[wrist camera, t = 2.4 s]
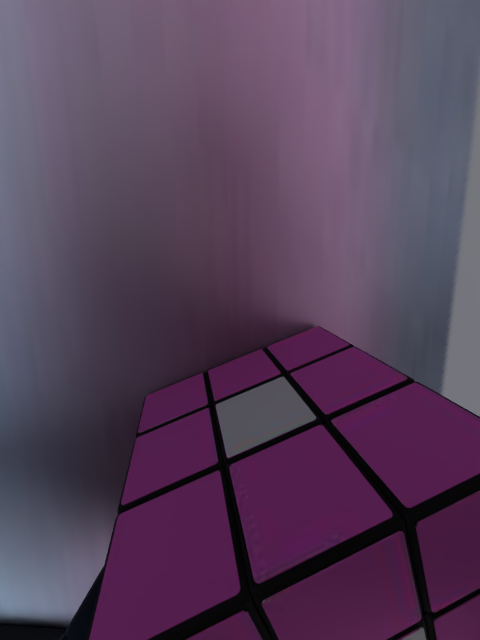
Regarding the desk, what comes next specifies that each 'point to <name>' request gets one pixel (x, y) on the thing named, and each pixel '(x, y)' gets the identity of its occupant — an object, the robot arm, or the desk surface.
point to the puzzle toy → (297, 506)
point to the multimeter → (30, 633)
